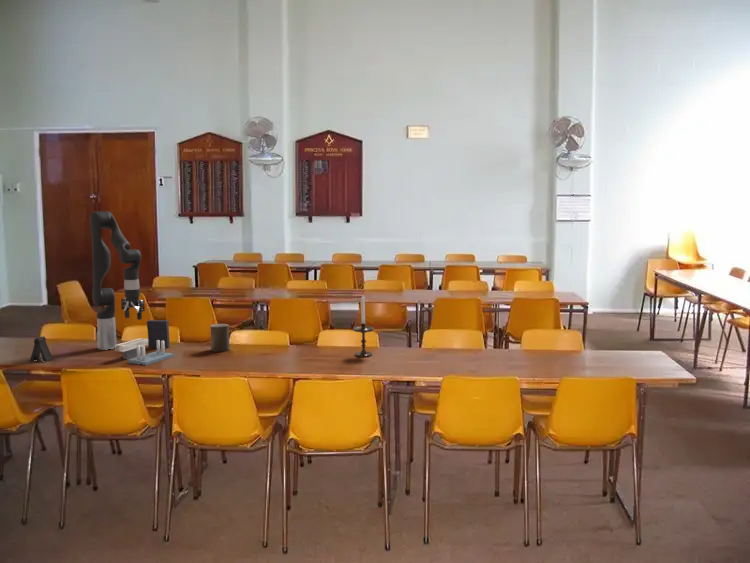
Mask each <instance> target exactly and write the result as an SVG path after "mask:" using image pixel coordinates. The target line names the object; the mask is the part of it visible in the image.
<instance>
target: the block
mask: <svg viewBox="0 0 750 563" xmlns="http://www.w3.org/2000/svg"><path fill="white" fill-rule="evenodd" d="M140 355H141V356H142V347H140ZM136 357H137V348H135V349H131V350H128V351H125V352H122V358H123V360H130V359H133V358H136Z"/></svg>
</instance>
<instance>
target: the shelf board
mask: <svg viewBox="0 0 750 563" xmlns="http://www.w3.org/2000/svg"><path fill="white" fill-rule="evenodd" d="M116 344H117V345H115V349H114V352H120V353H123V352H125V351H128V350H131V349H135V348H137V346H140V347H141V348H142V346H145V347H146V346H149V345H148V338H143V337H142V338H141V337H140V338H137V339H132V340H129V341H124V342H121V343H116Z"/></svg>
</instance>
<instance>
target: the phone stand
mask: <svg viewBox="0 0 750 563" xmlns="http://www.w3.org/2000/svg"><path fill="white" fill-rule="evenodd" d="M46 338H47V337H45V335H44V336H39V337H37V338H34V340H33V343H34V344H33V347H32V348H33V349H32V353H31V356H30V359H29V362H30V361H34V360H37V361H42V360H43V361H47V362H49V361H51V360H53V356H52V353H51V351H50V349H49V346H48V343H47V341H46V340H47V339H46ZM41 359H42V360H41ZM48 360H49V361H48Z"/></svg>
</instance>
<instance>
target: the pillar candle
mask: <svg viewBox="0 0 750 563" xmlns="http://www.w3.org/2000/svg"><path fill="white" fill-rule="evenodd" d="M210 348H211V351H212V352H214V353H215V352H216V353H222V351H224V352H228V351H229V350H230V329H229V324H227V323H216V324H215V323H214V324H211V325H210ZM227 350H228V351H227Z"/></svg>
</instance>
